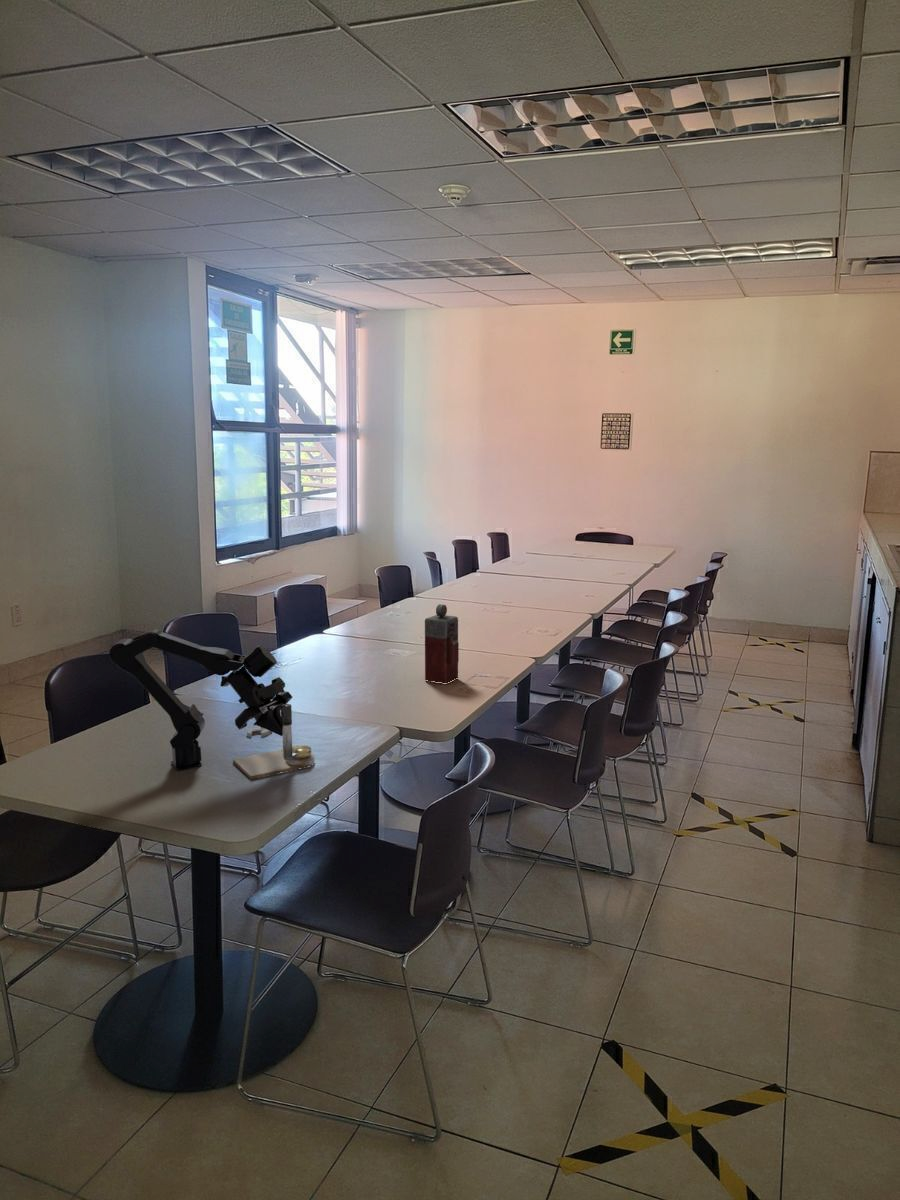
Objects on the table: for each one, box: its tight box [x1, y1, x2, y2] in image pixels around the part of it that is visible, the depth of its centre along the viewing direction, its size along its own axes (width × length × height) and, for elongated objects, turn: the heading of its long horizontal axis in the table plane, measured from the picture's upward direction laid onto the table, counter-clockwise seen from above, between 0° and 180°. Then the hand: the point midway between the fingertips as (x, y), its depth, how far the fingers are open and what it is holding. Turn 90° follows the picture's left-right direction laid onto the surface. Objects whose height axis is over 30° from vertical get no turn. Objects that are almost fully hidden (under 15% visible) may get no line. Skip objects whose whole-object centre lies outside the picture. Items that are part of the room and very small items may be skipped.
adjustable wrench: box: [246, 711, 281, 738], centre depth 260 cm, size 25×6×2 cm, turn 162°
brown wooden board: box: [232, 748, 316, 780], centre depth 228 cm, size 19×14×2 cm
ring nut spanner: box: [280, 703, 312, 761], centre depth 224 cm, size 10×6×16 cm, turn 159°
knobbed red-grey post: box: [424, 603, 460, 683], centre depth 305 cm, size 9×11×28 cm
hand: (284, 734), depth 222 cm, fingers closed
